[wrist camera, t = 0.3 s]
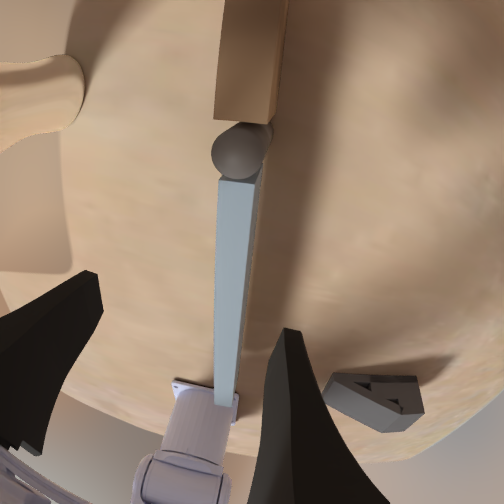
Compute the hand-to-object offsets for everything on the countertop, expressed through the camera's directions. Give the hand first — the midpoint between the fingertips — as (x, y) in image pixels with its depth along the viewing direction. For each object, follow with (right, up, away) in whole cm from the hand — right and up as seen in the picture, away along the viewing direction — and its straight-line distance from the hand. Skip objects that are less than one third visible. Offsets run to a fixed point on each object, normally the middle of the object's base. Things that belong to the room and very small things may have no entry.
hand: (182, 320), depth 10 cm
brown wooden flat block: (+3, +13, +3) cm, 14 cm away
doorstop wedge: (+15, -12, +17) cm, 26 cm away
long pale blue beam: (+1, -1, +10) cm, 10 cm away
